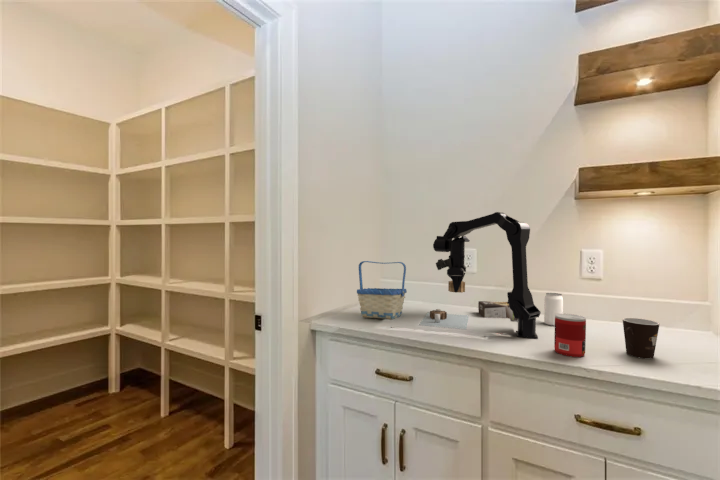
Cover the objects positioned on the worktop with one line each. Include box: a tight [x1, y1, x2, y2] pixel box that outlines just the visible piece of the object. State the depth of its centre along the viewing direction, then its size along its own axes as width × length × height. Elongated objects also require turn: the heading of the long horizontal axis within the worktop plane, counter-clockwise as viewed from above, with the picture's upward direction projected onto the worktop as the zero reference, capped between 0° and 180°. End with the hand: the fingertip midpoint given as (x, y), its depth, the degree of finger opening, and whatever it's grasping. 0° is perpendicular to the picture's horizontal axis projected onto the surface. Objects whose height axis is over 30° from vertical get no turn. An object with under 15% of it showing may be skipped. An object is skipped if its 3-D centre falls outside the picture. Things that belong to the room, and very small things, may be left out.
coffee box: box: [477, 300, 518, 322], centre depth 152 cm, size 9×6×16 cm
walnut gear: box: [429, 308, 448, 320], centre depth 146 cm, size 7×7×3 cm
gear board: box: [418, 311, 469, 330], centre depth 143 cm, size 24×17×4 cm
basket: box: [356, 260, 407, 320], centre depth 151 cm, size 21×16×24 cm
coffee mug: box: [622, 317, 660, 359], centre depth 106 cm, size 12×9×10 cm
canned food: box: [553, 313, 587, 358], centre depth 107 cm, size 8×8×11 cm
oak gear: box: [448, 280, 466, 294], centre depth 148 cm, size 6×6×4 cm
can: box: [543, 292, 564, 327], centre depth 143 cm, size 6×6×12 cm
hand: (456, 290), depth 148 cm, fingers closed on oak gear, 6 cm apart
